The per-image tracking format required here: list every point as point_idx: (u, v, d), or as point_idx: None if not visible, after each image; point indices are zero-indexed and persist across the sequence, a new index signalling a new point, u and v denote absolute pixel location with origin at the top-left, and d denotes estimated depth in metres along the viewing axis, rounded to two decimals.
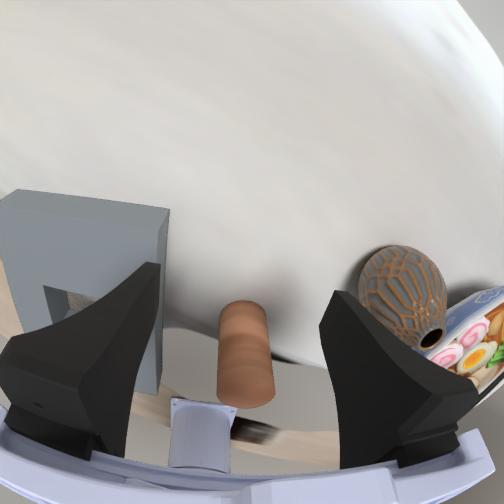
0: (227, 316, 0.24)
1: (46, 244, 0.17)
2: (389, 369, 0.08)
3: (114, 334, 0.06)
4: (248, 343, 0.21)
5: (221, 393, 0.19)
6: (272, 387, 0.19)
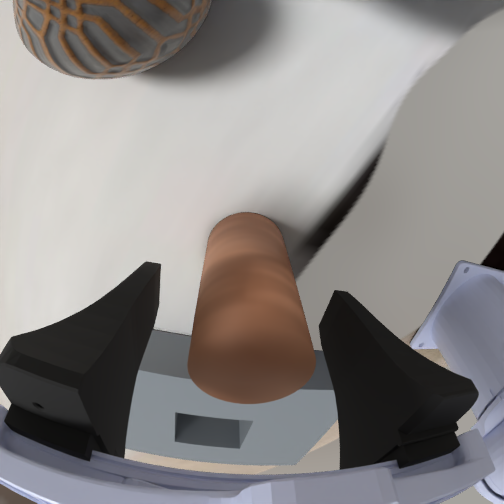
0: None
1: None
2: (389, 369, 0.08)
3: (114, 334, 0.06)
4: None
5: (248, 399, 0.10)
6: (225, 331, 0.08)
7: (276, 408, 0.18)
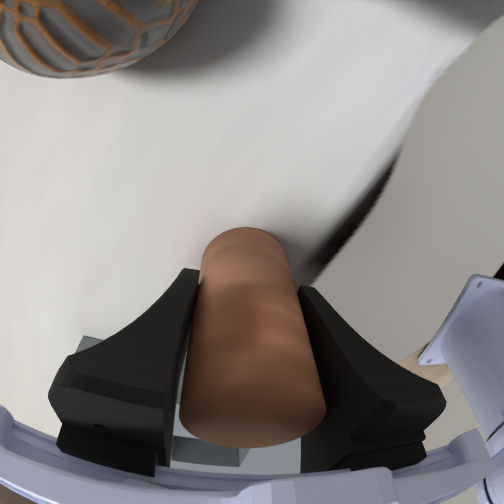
0: None
1: None
2: (344, 369, 0.07)
3: (176, 346, 0.07)
4: None
5: (248, 445, 0.08)
6: (221, 387, 0.06)
7: None
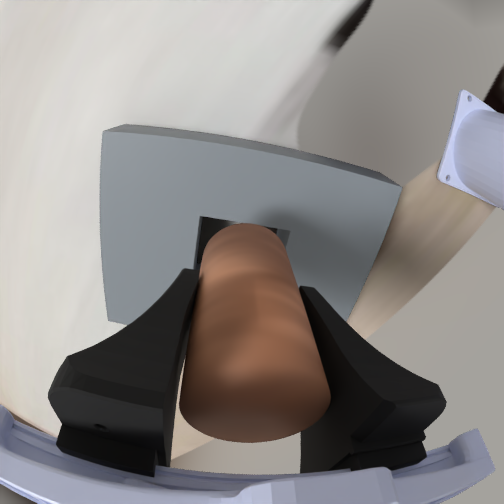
0: None
1: (134, 266, 0.19)
2: (344, 369, 0.07)
3: (176, 346, 0.07)
4: None
5: (251, 438, 0.08)
6: (223, 371, 0.06)
7: (317, 204, 0.17)
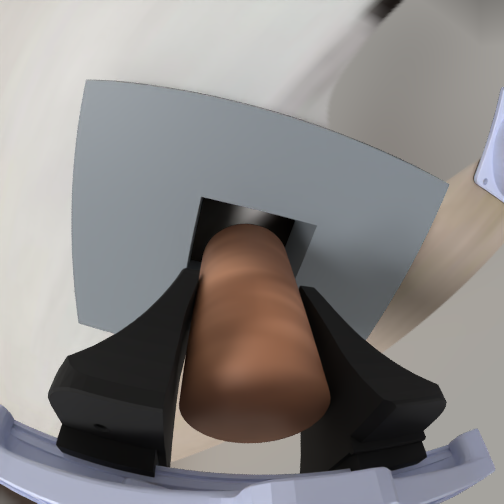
0: None
1: (112, 259, 0.14)
2: (344, 369, 0.07)
3: (176, 346, 0.07)
4: None
5: (251, 439, 0.08)
6: (223, 372, 0.06)
7: (353, 194, 0.13)
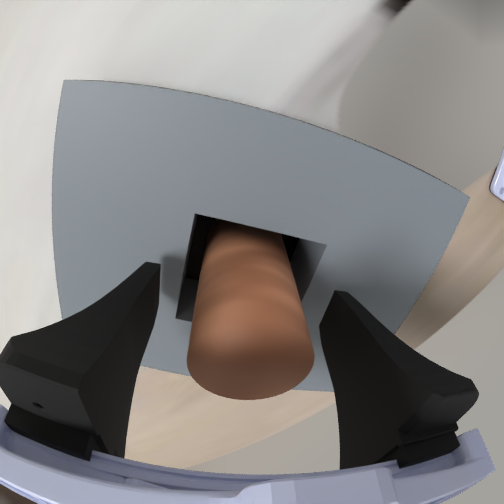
0: None
1: (98, 280, 0.12)
2: (389, 369, 0.08)
3: (114, 334, 0.06)
4: None
5: (247, 395, 0.10)
6: (224, 327, 0.08)
7: (367, 210, 0.11)
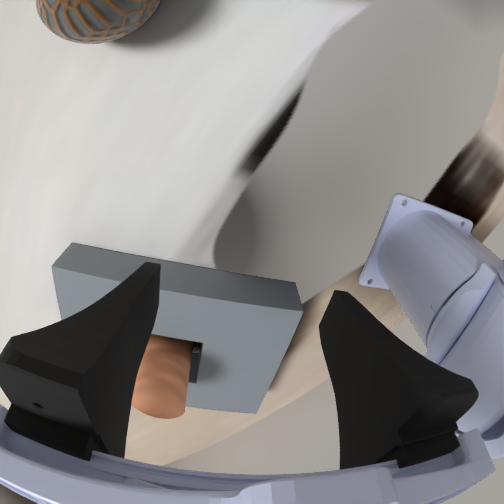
0: None
1: None
2: (389, 369, 0.08)
3: (114, 334, 0.06)
4: None
5: (161, 416, 0.19)
6: (139, 390, 0.17)
7: (222, 326, 0.21)
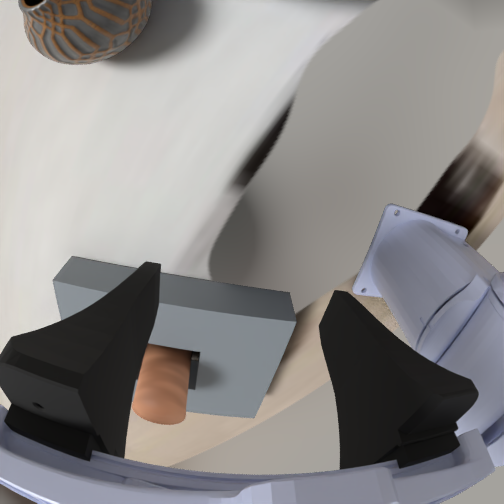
0: None
1: None
2: (389, 369, 0.08)
3: (114, 334, 0.06)
4: None
5: (162, 422, 0.20)
6: (142, 399, 0.18)
7: (218, 337, 0.21)
